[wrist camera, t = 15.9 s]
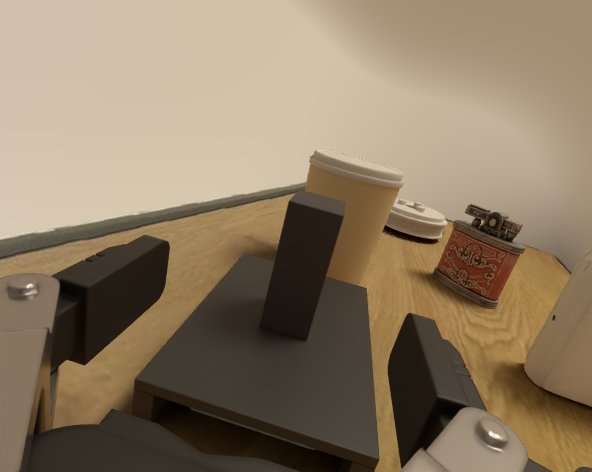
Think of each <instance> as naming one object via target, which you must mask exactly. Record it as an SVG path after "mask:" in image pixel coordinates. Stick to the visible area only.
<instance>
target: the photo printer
mask: <svg viewBox="0 0 592 472" xmlns="http://www.w3.org/2000/svg"><path fill="white" fill-rule="evenodd" d="M524 370H525V372H526V374H527V376H528V377H529V378H530V379H531V380H532V381H533V382H534V383H535V384H536V385H537V386H539V387H541V388H544V389H545V390H548V391H550V392H552V393H555V394H557V395H560V396H563V397H565V398H568V399H571V400H574V401H577V402H580V403H582V404H585V405H588V406H591V407H592V248H591V249H589V250H588V251H587V252H586V253H585V254H584V255H583V256H582V257H581V259H580V260H579V262H578V264H577V265H576V267H575V269H574V271H573V273H572V275H571V276H570V278H569V280H568V282H567V284H566V285H565V287H564V289H563V291H562V293H561V294H560V296H559V298H558V300H557V302H556V303H555V305H554V307H553V309H552V311H551V312H550V314H549V316H548V318H547V320H546V321H545V323H544V325H543V327H542V329H541V330H540V332H539V334H538V336H537V337H536V339H535V341H534V343H533V344H532V346H531V348H530V350H529V352H528V354H527V356H526V363H525V365H524Z"/></svg>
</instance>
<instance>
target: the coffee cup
mask: <svg viewBox="0 0 592 472" xmlns="http://www.w3.org/2000/svg"><path fill="white" fill-rule="evenodd" d="M310 163H311V164H310V168H309V173H308V178H307V182H306V188H305V191H307V192H311V193H314V194H318V195H322V196H325V197H329V198H333V199H336V200H340V201H344V202H345V203H346V204H345V213H344V219H343V222H342V225H341V229H340V232H339V235H338V239H337V242H336V245H335V249H334V252H333V255H332V259H331V262H330V265H329V269H328V272H327V276H326V277H330V278H333V279H337V280H340V281H344V282H347V283H350V284H354V285H358V284H359V283H360V281H361V279H362V277H363V275H364V273H365V271H366V268H367V266H368V264H369V261H370V259H371V257H372V254H373V252H374V250H375V247H376V245H377V243H378V240H379V238H380V236H381V233H382V231H383V229H384V226H385V224H386V221H387V219H388V217H389V214H390V212H391V210H392V207H393V205H394V202H395V200H396V197H397V195H398V192H399V189H400V188H401V187H402V186H403V184H404V180H402V178H403V173H402V172H401V171H399V170H397V169H395V168H392V167H389V166H386V165H383V164H381V163H377V162H374V161H370V160H367V159H364V158H360V157H356V156H352V155H348V154H344V153H339V152H334V151H329V150H321V149H317V150H315V152H314V155H312V156H311V157H310Z"/></svg>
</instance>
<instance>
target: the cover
mask: <svg viewBox="0 0 592 472" xmlns="http://www.w3.org/2000/svg"><path fill="white" fill-rule="evenodd" d="M345 204H346V203H345V202H344V201H340V200H336V199H333V198H329V197H325V196H322V195H318V194H314V193H311V192H307V191H303V190H298V192H297V193H296V194H295V195H294V196H293V197H292V198H291V200H290V201H289V203H288V207H287V211H286V215H285V219H284V224H283V228H282V232H281V236H280V240H279V245H278V249H277V253H276V257H275V261H271V260H268V259H265V258H261V257H258V256H254V255H251V254H247V253H244V254H243V255H242V257H241V258H240V259H239V260H238V261H237V262H236V263H235V265H234V266H233V267H232V268H231V269H230V270H229V272H228V273H227V274H226V275H225V276H224V277H223V278H222V280H221V281H220V282H219V283H218V284H217V285H216V286H215V288H214V289H213V290H212V291H211V292H210V293H209V294H208V296H207V297H206V298H205V299H204V300H203V301H202V302H201V304H200V305H199V306H198V307H197V308H196V309H195V311H194V312H193V313H192V314H191V315H190V316H189V317H188V319H187V320H186V321H185V322H184V323H183V324H182V325H181V327H180V328H179V329H178V330H177V331H176V332H175V333H174V335H173V336H172V337H171V338H170V339H169V340H168V341H167V343H166V344H165V345H164V346H163V347H162V348H161V350H160V351H159V352H158V353H157V354H156V355H155V356H154V358H153V359H152V360H151V361H150V362H149V363H148V364H147V366H146V367H145V368H144V369H143V370H142V371H141V372H140V374H139V375H138V376H137V377H136V378H135V383H134V395H133V405H132V415H133V416H136V417H139V418H142V419H145V420H148V421H151V422H154V421H155V420H156V418H157V417H158V415H159V414H160V412H161V411H162V409H163V408H164V406H165V405H166V403H167V402H168V401H169V400H170V401H173V402H176V403H179V404H182V405H185V406H188V407H191V408H194V409H197V410H200V411H203V412H206V413H209V414H212V415H215V416H218V417H221V418H224V419H227V420H230V421H233V422H236V423H239V424H242V425H245V426H248V427H251V428H254V429H257V430H260V431H263V432H266V433H269V434H272V435H275V436H278V437H281V438H284V439H287V440H290V441H293V442H296V443H299V444H302V445H305V446H308V447H311V448H314V449H317V450H320V451H323V452H326V453H329V454H332V455H335V456H338V457H341V472H374V471H375V468H376V466H377V464H378V462H379V447H378V434H377V421H376V407H375V394H374V381H373V368H372V354H371V341H370V328H369V314H368V301H367V288H364V287H361V286H357V285H354V284H350V283H347V282H344V281H340V280H337V279H333V278H330V277H326V276H327V272H328V269H329V265H330V262H331V259H332V255H333V252H334V249H335V245H336V242H337V239H338V235H339V232H340V229H341V225H342V222H343V219H344V213H345Z"/></svg>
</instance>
